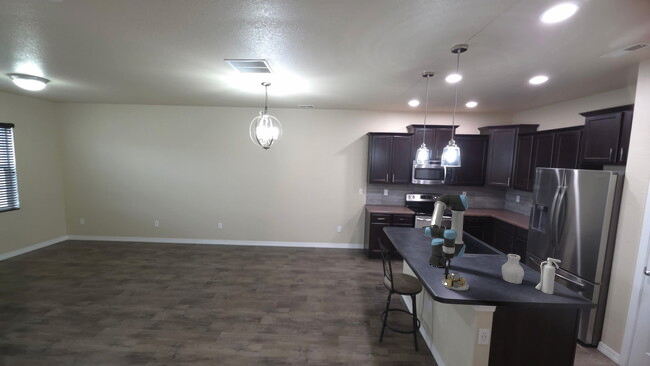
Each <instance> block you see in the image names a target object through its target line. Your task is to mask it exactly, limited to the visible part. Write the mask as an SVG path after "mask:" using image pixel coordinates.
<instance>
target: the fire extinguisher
mask: <svg viewBox="0 0 650 366" xmlns="http://www.w3.org/2000/svg"><path fill="white" fill-rule="evenodd" d="M553 263H554V265H555V266H556V267H555V266H553ZM558 263H562V261H561V260H560V259H556V258H551V257H547V260H545V261H542V262H541V263H540V281H539V283H538V284H537V285H536V286H535V289H537V290H539V291H541V292H542V293H545V294H548V295H553V294H554V288H555V287H554V286H555V285H554V284H555V274H556V269H559V268H560V267H559V265H558ZM543 264H544V265H543Z"/></svg>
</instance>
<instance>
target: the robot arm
mask: <svg viewBox="0 0 650 366" xmlns="http://www.w3.org/2000/svg"><path fill="white" fill-rule="evenodd" d="M468 204H469V201H468V196H467V195H465V194H464V195H463V194H457V193H456V194H454V193H453V194H452V193H444V194H441V195H440V196H439V197H437V198H436V199H435V202H434V210H433V213H432V216H431V221H430V223H429V226H426V227H425V230H424V235H425V237H428V238H433V239H432V240H431V248H430V249H431V250H430V256H429V259H428V262H429V263H430V264H431V265H433V266H432V267H434V266H437V267H436V268H438V267H445V268H444V273H443V275H444V276H443V278H444V283H447V279H448V276H449V275H451V272H450V271H449V270H450V266H451V261H452V259H454V258H463V257H464V255H465V251H466V244H465V243H464V241H463V229H464V228H463V226H464V214H465V212H466V211H467V210H468V209H469V205H468ZM447 208H450V211H451V214H452V215H451V228H450V229H445V228H441V225H442V221H443V218H444V212H445V210H446V209H447ZM429 263H428V264H429ZM431 265H430V266H431Z"/></svg>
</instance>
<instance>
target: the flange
mask: <svg viewBox="0 0 650 366" xmlns="http://www.w3.org/2000/svg"><path fill="white" fill-rule="evenodd" d="M450 275H451V278H453V279H457V281H460V277H461V274H460V273H459V272H456V271H451V272H450ZM442 284H443V285H444V286H445V287H444V286H443V285H442ZM441 285H442V286H443V287H444V288H446V289H448V288H449V289H448V290H450V291H451V290H452V291H455V292H467V291H469V288H470V285H469V284H468V282H466V281H465V285H464V286H462V287H461V286H458V282H456V281H453V286H452V287H449V286H447V283H444V277H443V278H442V279H441Z"/></svg>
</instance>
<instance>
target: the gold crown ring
mask: <svg viewBox="0 0 650 366" xmlns="http://www.w3.org/2000/svg"><path fill="white" fill-rule="evenodd" d="M453 281H456V282H458V286H461V287H462V286H464V285H465V282H466V278H464V277H463V276H460V281H457V279H453V278H451V274H449V276H448V279H447V286H449V287H452V286H453Z"/></svg>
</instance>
